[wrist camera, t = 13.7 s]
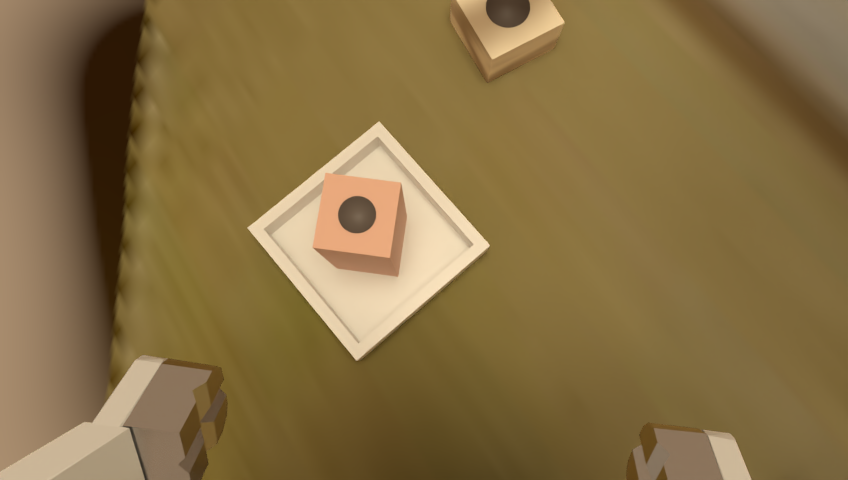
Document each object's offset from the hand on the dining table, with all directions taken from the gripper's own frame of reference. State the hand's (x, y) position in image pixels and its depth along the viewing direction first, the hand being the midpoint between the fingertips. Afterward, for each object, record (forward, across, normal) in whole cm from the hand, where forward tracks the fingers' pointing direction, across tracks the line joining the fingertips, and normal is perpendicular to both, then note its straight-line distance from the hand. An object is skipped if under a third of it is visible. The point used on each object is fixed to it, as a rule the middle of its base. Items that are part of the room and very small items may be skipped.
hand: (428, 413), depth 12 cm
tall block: (+28, +5, +16) cm, 32 cm away
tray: (+28, +5, +16) cm, 33 cm away
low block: (+41, -2, +4) cm, 41 cm away
